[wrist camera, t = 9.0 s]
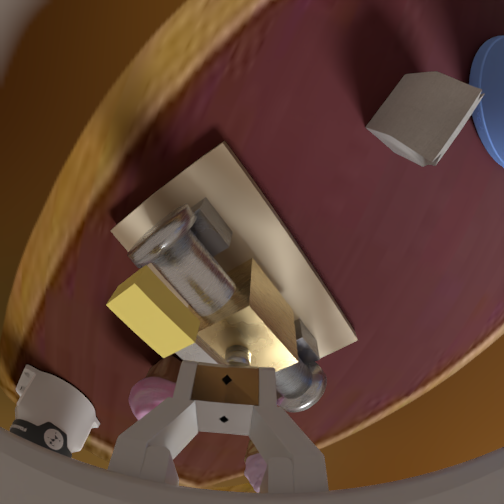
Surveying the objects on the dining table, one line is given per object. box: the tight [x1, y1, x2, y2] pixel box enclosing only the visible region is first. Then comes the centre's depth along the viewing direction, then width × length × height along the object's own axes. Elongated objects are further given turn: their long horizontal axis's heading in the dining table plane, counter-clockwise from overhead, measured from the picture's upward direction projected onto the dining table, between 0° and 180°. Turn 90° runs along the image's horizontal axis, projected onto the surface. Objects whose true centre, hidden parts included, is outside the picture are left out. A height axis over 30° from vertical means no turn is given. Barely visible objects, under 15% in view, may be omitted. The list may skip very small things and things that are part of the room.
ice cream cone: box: [244, 439, 267, 492], centre depth 36 cm, size 7×6×15 cm
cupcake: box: [129, 355, 182, 420], centre depth 35 cm, size 9×9×10 cm
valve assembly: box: [111, 141, 358, 412], centre depth 27 cm, size 14×26×12 cm, turn 35°
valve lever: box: [106, 265, 250, 366], centre depth 19 cm, size 12×3×2 cm, turn 36°
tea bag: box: [365, 71, 485, 167], centre depth 20 cm, size 4×7×10 cm, turn 147°
